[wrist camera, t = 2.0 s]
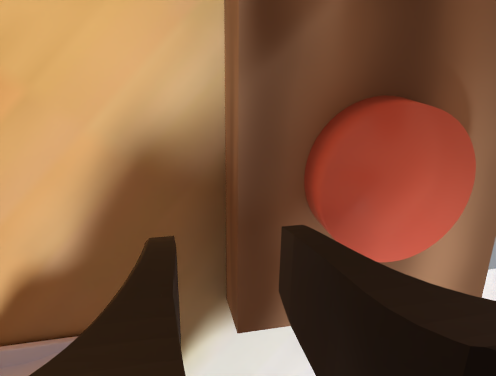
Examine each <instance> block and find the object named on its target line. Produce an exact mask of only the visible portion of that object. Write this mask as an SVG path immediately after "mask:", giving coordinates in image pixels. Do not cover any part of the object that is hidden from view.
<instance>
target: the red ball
mask: <svg viewBox="0 0 496 376" xmlns="http://www.w3.org/2000/svg"><path fill="white" fill-rule="evenodd" d="M475 173H476V160H475V152H474V148H473V144H472V142H471V139H470V137H469V135H468V133H467V131H466V130H465V128H464V127H463V126H462V125H461V123H460V122H459V121H458V120H457V119H456V118H454V117H453V116H452V115H451V114H449V113H447V112H445V111H444V110H441V109H439V108H436V107H433V106H430V105H426V104H423V103H420V102H416V101H413V100H410V99H406V98H403V97H398V96H387V95H384V96H375V97H371V98H367V99H364V100H361V101H359V102H356V103H354V104H352V105H350V106H349V107H347V108H345V109H344V110H343V111H341V112H340V113H338V114H337V115H336V116H335V117H334V118H333V119H332V120H331V121H330V122H329V123H328V124H327V125H326V126H325V127H324V128H323V130H322V131H321V133H320V134H319V135H318V137H317V138H316V140H315V142H314V144H313V146H312V148H311V151H310V153H309V156H308V159H307V163H306V167H305V174H304V188H305V195H306V199H307V202H308V205H309V207H310V209H311V212H312V213H313V215H314V216H315V218H316V219H317V220H318V221H319V223H320V224H321V225H322V226H323V227H324V228H325V229H326V231H327V232H328V233H329V234H330V235H331V236H332V237H333V238H334V240H335V241H337V242H339V243H341V244H343V245H344V246H346V247H348V248H350V249H352V250H354V251H356V252H358V253H360V254H362V255H364V256H366V257H368V258H370V259H372V260H374V261H376V262H393V261H399V260H403V259H406V258H409V257H412V256H414V255H416V254H419V253H421V252H422V251H424V250H426V249H428V248H429V247H431V246H432V245H433V244H435V243H436V242H437V241H439V240H440V239H441V238H442V237H443V236H444V235H445V234H446V233H447V232H448V231H449V230H450V229H451V228H452V227H453V225H454V224H455V223H456V222H457V220H458V219H459V217H460V216H461V214H462V212H463V211H464V209H465V207H466V205H467V203H468V200H469V198H470V195H471V193H472V189H473V185H474V180H475Z"/></svg>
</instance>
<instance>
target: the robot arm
mask: <svg viewBox="0 0 496 376" xmlns="http://www.w3.org/2000/svg"><path fill="white" fill-rule="evenodd" d="M279 294H280V297H281V300H282V303H283V306H284V309H285V312H286V315H287V318H288V320H289V323H290V325H291V327H292V329H293V331H294V333H295V335H296V337H297V339H298V341H299V343H300V345H301V347H302V349H303V351H304V353H305V355H306V357H307V359H308V361H309V363H310V365H311V367H312V369H313V371H314V373H315V375H316V376H496V301H493V300H489V299H485V298H480V297H476V296H472V295H468V294H465V293H461V292H458V291H454V290H451V289H447V288H444V287H440V286H437V285H434V284H431V283H428V282H425V281H423V280H420V279H417V278H415V277H412V276H409V275H406V274H404V273H401V272H399V271H396V270H394V269H392V268H389V267H387V266H385V265H383V264H381V263H378V262H376V261H374V260H372V259H370V258H368V257H366V256H364V255H362V254H360V253H358V252H356V251H354V250H352V249H350V248H348V247H346V246H344V245H343V244H341V243H339V242H337V241H335V240H333V239H331V238H330V237H328V236H326V235H324V234H322V233H320V232H318V231H316V230H314V229H312V228H310V227H308V226H305V225H293V226H282V229H281V250H280V270H279ZM0 376H185V371H184V366H183V360H182V354H181V333H180V313H179V294H178V274H177V255H176V243H175V239H174V236H169V237H158V238H149V239H148V240H147V241H146V243H145V246H144V249H143V251H142V253H141V255H140V257H139V259H138V261H137V263H136V265H135V267H134V268H133V270H132V272H131V273H130V275H129V277H128V278H127V280H126V281H125V283H124V284H123V286H122V287H121V288H120V290H119V291H118V293H117V294H116V295H115V297H114V298H113V300H112V301H111V302H110V303H109V305H108V306H107V307H106V308H105V309H104V311H103V312H102V313H101V314H100V315H99V316H98V317H97V318H96V320H95V321H94V322H93V323H92V324H91V325H90V326H89V327H88V328H87V329H86V330H85V331H84V332H83V333H82V334H81V335H80V336H76V337H68V338H61V339H53V340H46V341H39V342H31V343H24V344H16V345H9V346H1V347H0Z"/></svg>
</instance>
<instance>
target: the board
mask: <svg viewBox="0 0 496 376" xmlns="http://www.w3.org/2000/svg"><path fill="white" fill-rule="evenodd" d="M224 3H225V147H226V292H227V301H228V305H229V308H230V311H231V314H232V317H233V320H234V324H235V327H236V330H237V333H244V332H251V331H258V330H265V329H271V328H278V327H285V326H291V325H290V323H289V320H288V318H287V315H286V312H285V309H284V306H283V303H282V300H281V297H280V294H279V270H280V250H281V229H282V226H293V225H305V226H308V227H310V228H312V229H314V230H316V231H318V232H320V233H322V234H324V235H326V236H328V237H330V238H331V239H333V240H334V238H333V237H332V236H331V235H330V234H329V233H328V232H327V231H326V229H325V228H324V227H323V226H322V225H321V224H320V223H319V221H318V220H317V219H316V218H315V216H314V215H313V213H312V212H311V209H310V207H309V205H308V202H307V199H306V195H305V188H304V174H305V167H306V163H307V159H308V156H309V153H310V151H311V148H312V146H313V144H314V142H315V140H316V138H317V137H318V135H319V134H320V133H321V131H322V130H323V128H324V127H325V126H326V125H327V124H328V123H329V122H330V121H331V120H332V119H333V118H334V117H335V116H336V115H337V114H338V113H340V112H341V111H343V110H344V109H345V108H347V107H349V106H350V105H352V104H354V103H356V102H359V101H361V100H364V99H367V98H371V97H375V96H384V95H387V96H398V97H403V98H406V99H410V100H413V101H416V102H420V103H423V104H426V105H430V106H433V107H436V108H439V109H441V110H444V111H445V112H447V113H449V114H451V115H452V116H453V117H454V118H456V119H457V120H458V121H459V122H460V123H461V125H462V126H463V127H464V128H465V130H466V131H467V133H468V135H469V137H470V139H471V142H472V144H473V148H474V152H475V160H476V173H475V180H474V185H473V189H472V193H471V195H470V198H469V200H468V203H467V205H466V207H465V209H464V211H463V212H462V214H461V216H460V217H459V219H458V220H457V222H456V223H455V224H454V225H453V227H452V228H451V229H450V230H449V231H448V232H447V233H446V234H445V235H444V236H443V237H442V238H441V239H440V240H439V241H437V242H436V243H435V244H433V245H432V246H431V247H429V248H428V249H426V250H424V251H422V252H421V253H419V254H416V255H414V256H412V257H409V258H406V259H403V260H399V261H393V262H378V263H381V264H383V265H385V266H387V267H389V268H392V269H394V270H396V271H399V272H401V273H404V274H406V275H409V276H412V277H415V278H417V279H420V280H423V281H425V282H428V283H431V284H434V285H437V286H440V287H444V288H447V289H451V290H454V291H458V292H461V293H465V294H468V295H472V296H476V297H480V298H481V297H482V293H483V289H484V285H485V280H486V276H487V272H488V268H489V263H490V259H491V255H492V251H493V246H494V242H495V238H496V0H224Z"/></svg>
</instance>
